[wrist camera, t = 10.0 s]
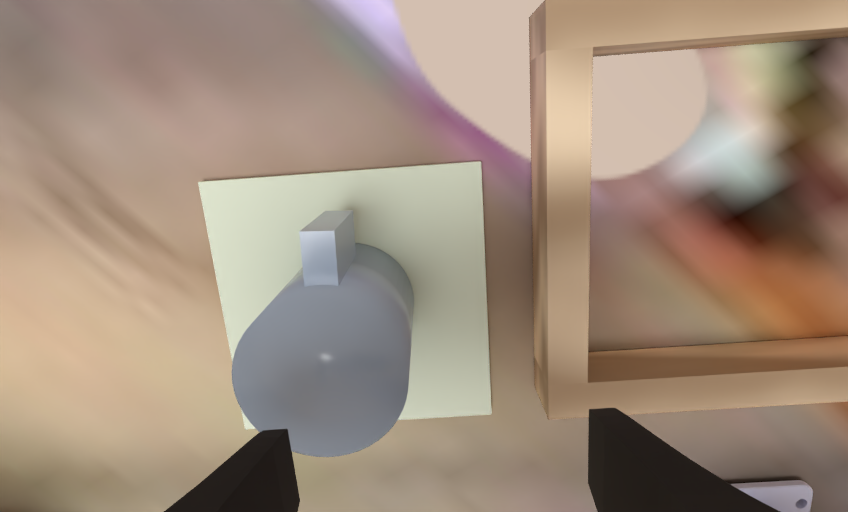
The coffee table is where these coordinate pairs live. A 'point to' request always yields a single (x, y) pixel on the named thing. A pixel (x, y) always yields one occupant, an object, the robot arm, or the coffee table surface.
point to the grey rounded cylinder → (330, 345)
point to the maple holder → (570, 216)
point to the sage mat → (386, 230)
